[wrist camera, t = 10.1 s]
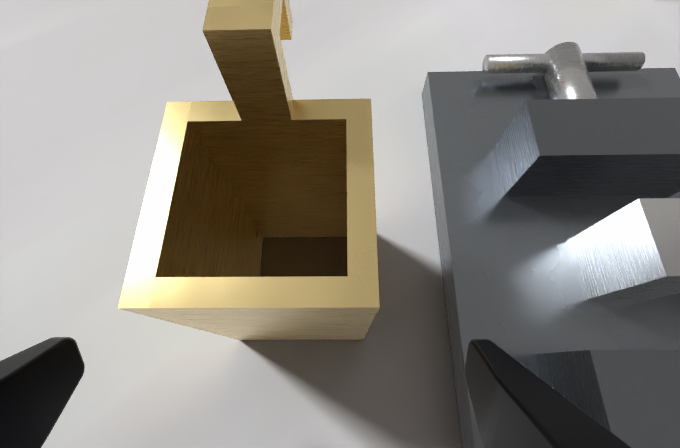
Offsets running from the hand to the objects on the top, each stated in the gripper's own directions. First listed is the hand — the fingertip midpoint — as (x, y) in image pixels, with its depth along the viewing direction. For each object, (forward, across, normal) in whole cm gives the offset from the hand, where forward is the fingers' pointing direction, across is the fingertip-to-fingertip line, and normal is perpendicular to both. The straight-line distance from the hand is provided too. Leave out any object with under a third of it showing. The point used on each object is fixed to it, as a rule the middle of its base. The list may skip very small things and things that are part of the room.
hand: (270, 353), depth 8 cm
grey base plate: (+7, -12, +2) cm, 14 cm away
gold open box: (+7, 0, +2) cm, 7 cm away
